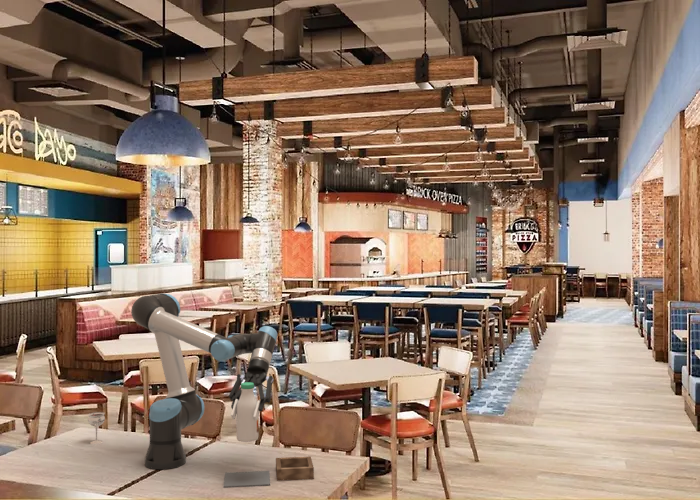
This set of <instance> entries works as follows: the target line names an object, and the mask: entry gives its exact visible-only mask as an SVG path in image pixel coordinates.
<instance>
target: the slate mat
mask: <svg viewBox="0 0 700 500" xmlns="http://www.w3.org/2000/svg"><path fill="white" fill-rule="evenodd" d="M267 486H269V487H270V486H271V474H270V470H255V471H254V470H253V471H251V470H250V471H233V472H232V471H229V472H224V479H223V488H224V489H225V488H246V487H247V488H249V487H267Z"/></svg>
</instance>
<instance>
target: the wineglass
mask: <svg viewBox="0 0 700 500" xmlns="http://www.w3.org/2000/svg"><path fill="white" fill-rule="evenodd" d="M105 415H106V412H104V411H94V412H90V413H88V414H87V416H88V417H87V422H88V424H89V425H91V427H94V428H95V440H94V441H91V442H90V443H89V444H91V445H100V444H102V443H103V442H104V441H102V440H98V428H99V427H100V426H101V425H103V424H104V422H105V420H106V417H105Z"/></svg>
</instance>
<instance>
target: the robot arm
mask: <svg viewBox="0 0 700 500" xmlns="http://www.w3.org/2000/svg"><path fill="white" fill-rule="evenodd" d="M180 305H181V304H180V302H179V300H178V299H177V298H176V297H175V296H174V295H172V294H170V293H157V294H152V295H144V296H143V295H142V296H140V297H138V298H137V299H135V301H134V302H133V304H132V306H131V310H130V311H131V312H130V313H131V317H132V319H133V321H135V323H136V324H137V325H139V326H140V327H143V328H144V329H147V330H148V331H149V332H151V333H153V334H154V338H155V340H156V345H157V350H158V353H159V357H160V361H161V367H162V369H163V370H162V371H163V374H164V378H165V381H166V387H167V390H168V393H167V395H165V398H163V399H158V400H156V401H154V402H153V403H152V404H151V405H150V407H149V414H148V419H149V445H148V447H147V450H146V455H145V456H144V466H145V467H146V468H148V469H150V470H151V469H152V470H169V469H175V468H179V467H181V466H183V465H185V464H186V462H187V456H186V453H185V449H184V447H183V443H182V430H184V429H185V428H187V427H190V426H194V425H195V424H196V423H197V422H199V421H200V420H201V419H202V417H203V416H204V413H205V403H204V400H203V398H202V397H201V396H199V395H198V394H197V392H196V389H195V388H194V387H192V386H191V384H190V381H189V376H188V372H187V367H186V364H185V360H184V356H183V351H182V347H181V344H180V343H181V342H184V343H186V344H189V345H190V346H193V347H196V348H198V349H199V350H203V351H204V352H207V353H209V354H210V355H211V356H212V357H213V359H215V360H216V361H218V362H219V361H221V362H223V361H228V360H230V359H232V358H235V357H239V356H242V355H244V354H245V355H246V354H251V355H250V358H249V363H248V366H247V369H246V372H245V373H244V374H243V375H242V374H240V373H238V374H237V375H236V380H235V382H234V384H233V386H232V388H231V391H230V393H229V395H228V397H229V399H230V401H231V405H230V406H231V409H232V411H231V413H230V416H231V418H232V420H236V418H237V404H238V401H239V399H240V396H241V392H242V390H241V384H242V383H245V382H251V383H254V387H257V388H258V394H259V400H257V405H256V409H255V412H254V416H253V417H254V419H255V420H256V421H257V420H258V421H259V416H260V413H261V412H263V410H264V406H265V404H266V403H268V404H269V403H271V398H272V387H273V384H274V382H275V380H274V377H273V375H268V372H269V369H270V365H271V362H272V358H273V354H274V350H275V347H276V344H277V338H278V332H277V330H276V329H275V328H273V327H272V326H268V325H263V326H261V327H260V328H259V330H258V331H257V332H255V333H244V334H243V333H242V334H241V333H240V334H239V333H237V334H236V333H235V334H230V335H228V336H227V337H226V336H223V335H221V334H219V333H216V332H214V331H212V330H209V329H207V328H205V327H202V326H200V325H197V324H196V323H193V322H190V321H188V320H186V319H184V318H182V317H179V316H180V313H181V306H180ZM180 341H181V342H180ZM265 381H266V388H265V389H266V390H265V393H264V387H263V384H264V383H265Z"/></svg>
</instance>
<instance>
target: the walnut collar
mask: <svg viewBox="0 0 700 500" xmlns="http://www.w3.org/2000/svg"><path fill="white" fill-rule="evenodd" d="M314 469H315V467H314V464H313V460H312V456H309V455H308V456H294V457H292V456H290V457H286V456H285V457H276V458H275V472H276V481H299V480H302V479H304V480H314V478H315V473H314V471H315V470H314Z"/></svg>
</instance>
